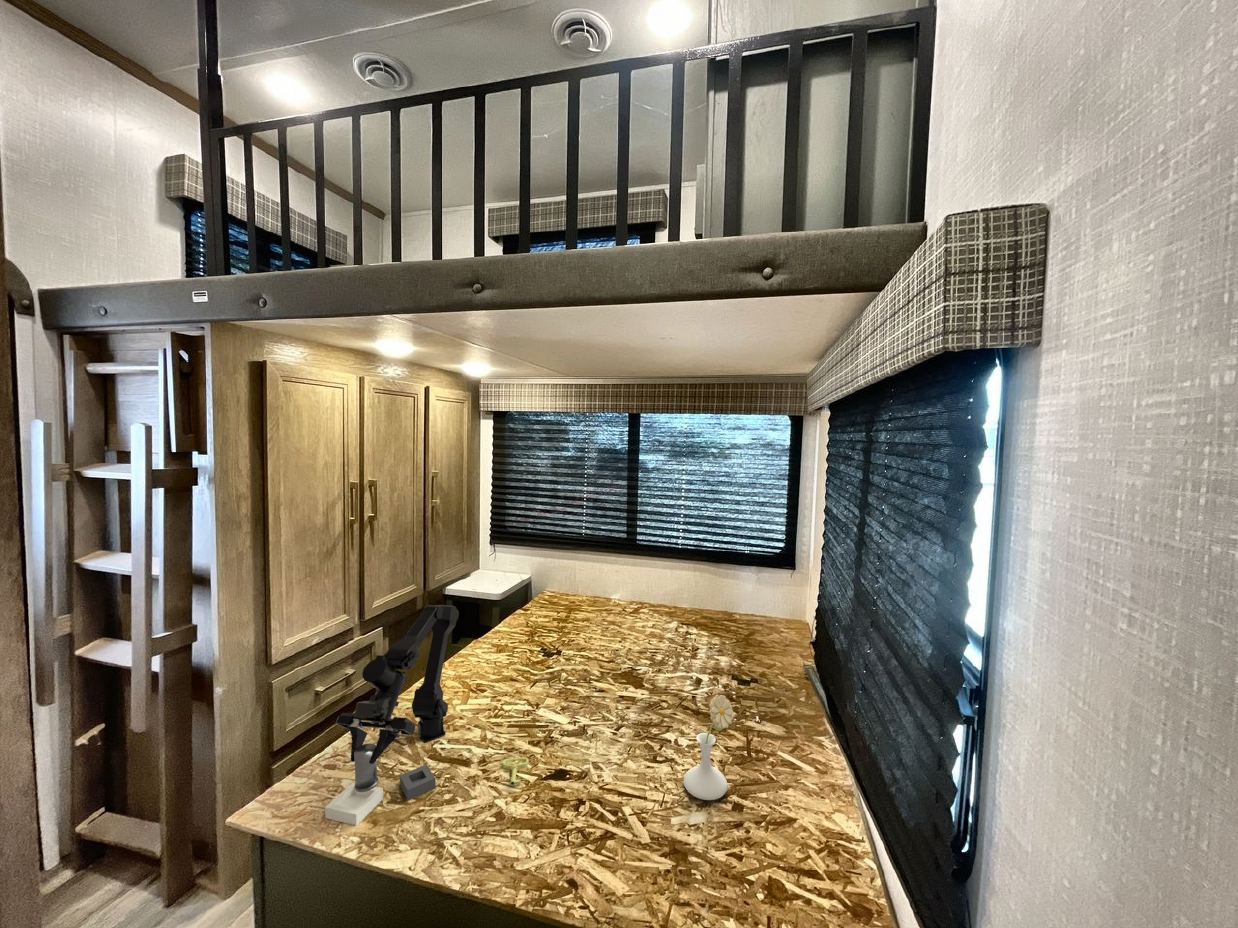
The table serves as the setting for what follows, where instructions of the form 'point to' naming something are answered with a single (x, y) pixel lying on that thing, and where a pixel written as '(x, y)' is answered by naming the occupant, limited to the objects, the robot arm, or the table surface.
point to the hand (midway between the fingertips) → (361, 762)
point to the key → (515, 768)
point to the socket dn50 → (353, 805)
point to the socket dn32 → (417, 782)
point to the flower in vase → (704, 777)
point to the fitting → (365, 768)
